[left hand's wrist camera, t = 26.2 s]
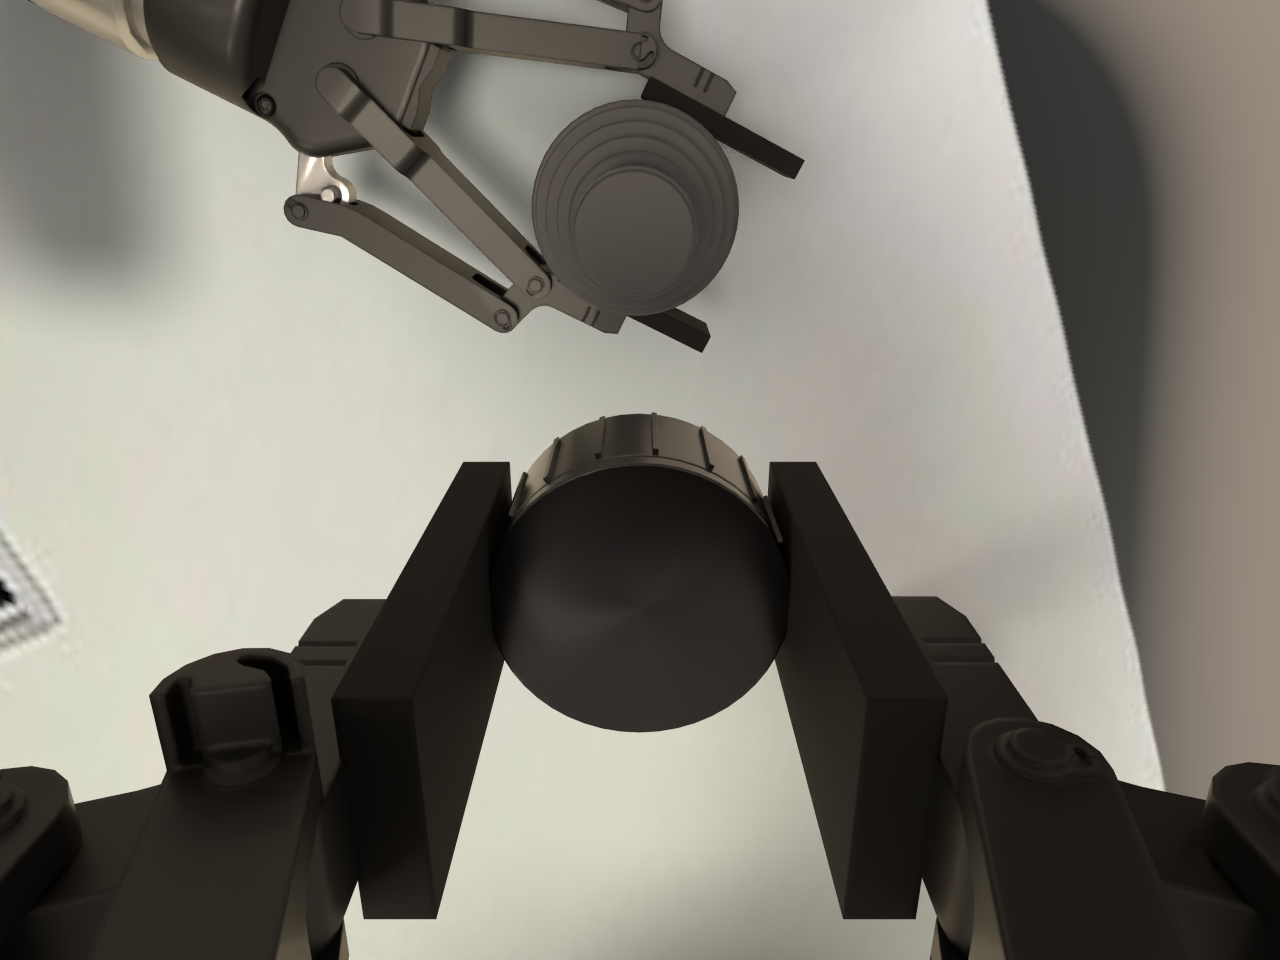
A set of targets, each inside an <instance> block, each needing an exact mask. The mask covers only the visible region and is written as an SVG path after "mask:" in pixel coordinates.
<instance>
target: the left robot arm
mask: <svg viewBox="0 0 1280 960" xmlns="http://www.w3.org/2000/svg"><path fill="white" fill-rule="evenodd" d="M768 500H769V503H770V505H771V508H772V511H773V514H774V516H775V519H776V522H777V525H778V527H779V530H780V533H781V535H782V538H783V541H784V544H785V546H782V547H781V548H782V551H783V554H784V557H785V560H786V563H787V566H788V570H789V576H790V597H789V612H788V625H787V631H786V634H785V638H784V640H783V643H782V645H781V647H780V649H779V651H778V654H777V656H776V657H775V662H776V666H777V669H778V673H779V677H780V681H781V685H782V688H783V692H784V696H785V700H786V704H787V707H788V711H789V715H790V719H791V723H792V726H793V730H794V734H795V738H796V742H797V745H798V749H799V753H800V757H801V761H802V764H803V768H804V772H805V776H806V780H807V783H808V787H809V791H810V795H811V799H812V802H813V806H814V810H815V814H816V818H817V821H818V825H819V829H820V833H821V837H822V840H823V844H824V848H825V852H826V856H827V859H828V863H829V867H830V871H831V875H832V878H833V882H834V886H835V890H836V894H837V897H838V901H839V905H840V909H841V913H842V916H843V919H916V913H917V907H918V900H919V893H920V887H921V880H922V878H923V881H924V884H925V886H926V889H927V891H928V894H929V896H930V899H931V902H932V904H933V907H934V909H935V912H936V915H937V918H936V924H935V930H934V937H933V943H932V949H931V955H930V960H1280V766H1279V765H1271V764H1261V763H1251V762H1247V763H1241V764H1236V765H1230V766H1225V767H1224V768H1223V769H1222V770H1220V771H1219V772H1218V773H1217V774H1216V775H1215V776H1213V778H1212V781H1211V785H1210V788H1209V792H1208V795H1207V799H1206V800H1202V799H1197V798H1192V797H1187V796H1183V795H1178V794H1173V793H1169V792H1164V791H1159V790H1154V789H1149V788H1145V787H1141V786H1137V785H1133V784H1130V783H1126V782H1122V781H1119V780H1118V779H1117V777H1116V775H1115V772H1114V770H1113V769H1112V767H1111V766H1110V765H1109V763H1108V762H1107V760H1106V759H1105V758H1104V756H1103V755H1102V754H1101V752H1100V751H1098V750H1097V749H1096V748H1094V747H1093V746H1092V745H1090V744H1089V743H1088V742H1086V741H1085V740H1083V739H1082V738H1081V737H1079V736H1078V735H1075V734H1073V733H1071V732H1069V731H1066V730H1064V729H1062V728H1059V727H1057V726H1055V725H1053V724H1049V723H1045V722H1040V721H1038V720H1037V718H1036V717H1035V715H1034V714H1033V713H1032V711H1031V710H1030V708H1029V707H1028V705H1027V704H1026V702H1025V701H1024V700H1023V698H1022V697H1021V695H1020V694H1019V692H1018V691H1017V689H1016V688H1015V687H1014V685H1013V684H1012V682H1011V681H1010V679H1009V678H1008V677H1007V675H1006V674H1005V672H1004V671H1003V669H1002V668H1001V666H1000V665H999V664H998V663H995V661H994V656H993V655H992V653H991V652H990V651H989V649H988V648H987V646H986V645H985V643H981V638H980V636H979V635H978V633H977V632H976V630H975V629H974V628H973V626H972V625H971V623H970V622H969V620H968V619H967V618H966V616H965V615H963V614H962V613H960V612H959V611H957V610H956V609H954V608H953V607H951V606H950V605H948V604H947V603H945V602H944V601H942V600H941V599H939V598H938V597H936V596H891V595H890V593H889V591H888V590H887V588H886V586H885V584H884V583H883V581H882V579H881V577H880V575H879V574H878V572H877V570H876V568H875V566H874V565H873V563H872V561H871V559H870V558H869V556H868V554H867V552H866V550H865V549H864V547H863V545H862V543H861V541H860V540H859V538H858V536H857V534H856V533H855V531H854V529H853V527H852V525H851V524H850V522H849V520H848V518H847V516H846V515H845V513H844V511H843V509H842V508H841V506H840V504H839V502H838V500H837V499H836V497H835V495H834V493H833V491H832V490H831V488H830V486H829V484H828V483H827V481H826V479H825V477H824V475H823V474H822V472H821V470H820V468H819V466H818V465H817V463H816V462H770V467H769V484H768ZM511 503H512V494H511V477H510V462H463V464H462V465H461V467H460V469H459V471H458V473H457V474H456V476H455V478H454V480H453V481H452V483H451V485H450V487H449V489H448V490H447V492H446V494H445V496H444V498H443V499H442V501H441V503H440V505H439V506H438V508H437V510H436V512H435V514H434V515H433V517H432V519H431V521H430V523H429V524H428V526H427V528H426V530H425V531H424V533H423V535H422V537H421V539H420V540H419V542H418V544H417V546H416V548H415V549H414V551H413V553H412V555H411V556H410V558H409V560H408V562H407V564H406V565H405V567H404V569H403V571H402V573H401V574H400V576H399V578H398V580H397V581H396V583H395V585H394V587H393V589H392V590H391V592H390V594H389V596H388V598H387V599H343V600H342V601H340V602H339V603H337V604H336V605H334V606H333V607H331V608H330V609H328V610H327V611H325V612H324V613H322V614H321V615H319V616H318V617H316V618H315V619H314V620H313V622H312V623H311V624H310V626H309V627H308V629H307V630H306V632H305V633H304V635H303V636H302V638H301V639H300V640H299V645H298V646H295V648H294V649H293V651H292V652H291V653H287V652H283V651H279V650H275V649H271V648H242V649H237V650H232V651H227V652H222V653H217V654H213V655H210V656H208V657H205V658H202V659H200V660H197V661H195V662H192V663H189V664H187V665H185V666H183V667H182V668H180V669H179V670H177V671H175V672H174V673H172V674H171V675H169V676H167V677H166V678H164V679H163V680H162V681H161V682H160V683H159V685H158V686H157V687H156V688H155V689H154V690H153V692H152V693H151V694H150V695H149V697H150V701H151V706H152V710H153V714H154V718H155V722H156V727H157V731H158V735H159V739H160V744H161V748H162V752H163V756H164V760H165V765H166V769H167V772H166V774H165V776H164V779H163V781H162V783H161V784H160V785H156V786H153V787H149V788H146V789H142V790H138V791H134V792H129V793H124V794H120V795H115V796H110V797H105V798H101V799H96V800H91V801H86V802H82V803H77V804H74V801H73V798H72V794H71V791H70V787H69V784H68V781H67V780H66V779H65V778H64V777H62V776H61V775H60V774H59V773H58V772H56V771H55V770H51V769H45V768H40V767H34V766H28V767H19V768H9V769H1V770H0V960H349V951H348V944H347V937H346V930H345V924H344V915H345V912H346V910H347V907H348V905H349V902H350V899H351V897H352V894H353V892H354V889H355V886H356V884H357V881H358V884H359V891H360V897H361V904H362V911H363V917H364V919H436V918H437V914H438V910H439V907H440V903H441V899H442V895H443V891H444V888H445V884H446V880H447V876H448V872H449V869H450V865H451V861H452V857H453V854H454V850H455V846H456V842H457V838H458V835H459V831H460V827H461V823H462V819H463V816H464V812H465V808H466V804H467V800H468V797H469V793H470V789H471V785H472V781H473V778H474V774H475V770H476V766H477V762H478V759H479V755H480V751H481V747H482V743H483V740H484V736H485V732H486V728H487V724H488V721H489V717H490V713H491V709H492V705H493V702H494V698H495V694H496V690H497V686H498V683H499V679H500V675H501V671H502V667H503V664H504V658H503V656H502V654H501V652H500V650H499V648H498V646H497V644H496V641H495V639H494V636H493V632H492V621H491V606H490V592H489V573H490V569H491V565H492V562H493V559H494V556H495V552H496V550H497V547H498V544H499V541H500V538H501V536H502V533H503V530H504V527H505V524H506V521H507V519H506V517H507V514H508V511H509V509H510V506H511Z"/></svg>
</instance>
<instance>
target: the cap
mask: <svg viewBox="0 0 1280 960" xmlns="http://www.w3.org/2000/svg"><path fill="white" fill-rule="evenodd" d="M506 519H507V521H506V524H505V527H504V530H503V533H502V536H501V538H500V541H499V544H498V547H497V550H496V552H495V556H494V559H493V562H492V565H491V569H490V573H489V592H490V606H491V621H492V632H493V636H494V639H495V641H496V644H497V646H498V648H499V650H500V652H501V654H502V656H503V658H504V660H505V661H506V663H507V664H508V666H509V667H510V669H511V671H512V672H513V673H514V674H515V676H516V677H517V678H518V679H519V680H520V681H521V683H522V684H523V685H524V686H525V687H526V688H527V689H528V690H529V691H531V692H532V693H533V694H534V695H535V696H536V697H537V698H539V699H540V700H541V701H543V702H544V703H546V704H547V705H548V706H550V707H551V708H553V709H555V710H557V711H558V712H560V713H562V714H564V715H566V716H568V717H570V718H573V719H575V720H578V721H580V722H583V723H585V724H589V725H592V726H596V727H599V728H603V729H609V730H616V731H623V732H655V731H663V730H669V729H675V728H679V727H683V726H686V725H690V724H693V723H696V722H699V721H701V720H703V719H706V718H708V717H711V716H713V715H715V714H716V713H718V712H720V711H722V710H724V709H725V708H727V707H729V706H730V705H732V704H733V703H734V702H736V701H737V700H738V699H740V698H741V697H743V696H744V695H745V694H746V693H747V692H748V691H749V690H750V689H751V688H752V687H753V686H754V685H756V683H757V682H758V681H759V680H760V679H761V677H762V676H763V675H764V674H765V673H766V671H767V670H768V668H769V667H770V665H771V664H772V662H773V660H774V659H775V657H776V656H777V654H778V651H779V649H780V647H781V645H782V643H783V640H784V638H785V634H786V631H787V625H788V612H789V597H790V576H789V570H788V566H787V563H786V560H785V557H784V554H783V551H782V548H781V547H782V546H785V544H784V541H783V538H782V535H781V533H780V530H779V527H778V525H777V522H776V519H775V516H774V514H773V511H772V508H771V505H770V503H769V500H768V497H767V496H763V495H762V492H761V490H760V488H759V486H758V484H757V481H756V479H755V477H754V476H753V474H752V473H751V471H750V470H749V468H748V466H747V463H746V460H745V458H744V457H743V456H742V455H741V456H740V457H739V456H738V455H737V454H736V453H735V452H734V451H733V450H732V449H731V448H730V447H729V446H727V445H726V444H725V443H724V442H723V441H722V440H720V439H718V438H717V437H715V436H714V435H712V434H711V433H709V432H708V431H706V428H705V427H703V426H701V427H700V428H699V427H697V426H695V425H693V424H691V423H688V422H685V421H682V420H679V419H675V418H671V417H666V416H660V415H657V413H651V414H628V415H618V416H613V417H608V418H605V416H603V417H600V419H599V420H597V421H594V422H591V423H588V424H585V425H583V426H581V427H579V428H577V429H575V430H573V431H571V432H569V433H568V434H566V435H565V436H563V437H562V438H560V439H559V437H557V438H556V439H554V442H553V444H552V445H551V446H550V447H549V448H548V449H547V450H545V451H544V452H543V453H542V454H541V456H540V457H539V458H538V459H537V460H536V461H535V462H534V464H533V465H532V466H531V468H530V469H529V471H528V472H527V473H525V472H523V474H522V475H521V478H520V481H519V484H518V486H517V489H516V492H515V495H514V497H513V500H512V503H511V506H510V509H509V511H508V514H507V517H506Z"/></svg>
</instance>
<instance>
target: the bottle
mask: <svg viewBox="0 0 1280 960" xmlns="http://www.w3.org/2000/svg"><path fill="white" fill-rule="evenodd" d="M738 216H739V199H738V191H737V185H736V181H735V177H734V174H733V171H732V168H731V166H730V163H729V161H728V158H727V157H726V155H725V153H724V151H723V150H722V148H721V146H720V145H719V144H718V142H717V141H716V140H715V138H714V137H713V136H712V135H711V134H710V133H709V132H708V131H707V130H706V129H705V128H704V127H703V126H702V125H701V124H700V123H699V122H697V121H696V120H695V119H693V118H692V117H691V116H689V115H687V114H686V113H684V112H682V111H680V110H679V109H676V108H674V107H671V106H669V105H666V104H663V103H658V102H654V101H648V100H622V101H617V102H612V103H608V104H605V105H602V106H599V107H596V108H594V109H592V110H590V111H588V112H586V113H584V114H583V115H581V116H580V117H578V118H577V119H576V120H574V121H573V122H571V123H570V124H569V125H568V126H567V127H566V128H565V129H564V130H563V131H562V132H561V133H560V134H559V135H558V136H557V138H556V139H555V140H554V141H553V143H552V144H551V146H550V147H549V149H548V151H547V152H546V154H545V156H544V158H543V160H542V162H541V165H540V167H539V169H538V173H537V176H536V179H535V183H534V189H533V195H532V218H533V227H534V231H535V236H536V240H537V242H538V245H539V248H540V251H541V253H542V255H543V257H544V259H545V261H546V263H547V265H548V266H549V268H550V269H551V271H552V272H553V274H554V275H555V276H556V277H557V278H558V280H559V281H560V282H561V283H562V284H563V285H564V286H565V287H566V288H567V289H568V290H569V291H570V292H572V293H573V294H574V295H575V296H577V297H578V298H580V299H581V300H583V301H584V302H586V303H588V304H590V305H592V306H594V307H596V308H599V309H601V310H604V311H607V312H611V313H616V314H620V315H631V316H639V315H650V314H656V313H661V312H664V311H667V310H670V309H673V308H675V307H677V306H679V305H681V304H683V303H685V302H687V301H688V300H690V299H691V298H693V297H694V296H696V295H697V294H698V293H699V292H701V291H702V290H703V289H704V288H705V287H706V286H707V285H708V284H709V283H710V282H711V281H712V280H713V279H714V278H715V276H716V275H717V273H718V272H719V271H720V269H721V268H722V266H723V264H724V262H725V261H726V259H727V257H728V255H729V253H730V250H731V247H732V245H733V242H734V239H735V235H736V230H737V225H738Z"/></svg>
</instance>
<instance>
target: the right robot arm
mask: <svg viewBox="0 0 1280 960" xmlns="http://www.w3.org/2000/svg"><path fill="white" fill-rule="evenodd" d="M28 1H30V2H32V3H34V4H36V5H38V6H40V7H41V8H43V9H44V10H46V11H48V12H50V13H52V14H54V15H56V16H58V17H60V18H62V19H64V20H66V21H68V22H70V23H72V24H74V25H76V26H78V27H80V28H82V29H84V30H86V31H88V32H90V33H92V34H94V35H96V36H98V37H100V38H102V39H104V40H106V41H108V42H110V43H112V44H113V45H115V46H117V47H119V48H121V49H123V50H125V51H127V52H129V53H131V54H133V55H135V56H138V57H140V58H143V59H146V60H159V61H160V62H161V64H162V65H163V66H164V68H166V69H167V70H168V71H169V72H171V73H173V74H174V75H176V76H178V77H180V78H182V79H184V80H186V81H188V82H190V83H192V84H194V85H196V86H198V87H200V88H202V89H204V90H206V91H208V92H210V93H212V94H214V95H216V96H218V97H220V98H222V99H224V100H226V101H228V102H230V103H232V104H234V105H236V106H238V107H240V108H242V109H244V110H246V111H248V112H250V113H252V114H254V115H256V116H258V117H260V118H262V119H264V120H266V121H268V122H269V123H271V124H272V125H273V126H275V127H276V128H277V129H278V130H279V131H280V132H281V133H282V134H283V135H284V137H285V138H286V139H287V141H288V142H289V143H290V145H291V146H292V147H293V148H294V149H296V150H297V151H298V152H299V157H298V171H297V185H296V195H293V196H291V197H289V198H288V199H287V200H286V201H285V205H284V214H285V216H286V218H287V220H288V221H289V222H291V223H292V224H293V225H295V226H298V227H301V228H306V229H310V230H315V231H319V232H324V233H328V234H333V235H337V236H341V237H343V238H345V239H346V240H348V241H350V242H351V243H353V244H355V245H356V246H358V247H359V248H361V249H363V250H364V251H366V252H368V253H369V254H371V255H373V256H374V257H376V258H377V259H379V260H381V261H382V262H384V263H386V264H387V265H389V266H391V267H392V268H394V269H395V270H397V271H399V272H400V273H402V274H404V275H405V276H407V277H409V278H410V279H412V280H413V281H415V282H417V283H418V284H420V285H422V286H423V287H425V288H427V289H428V290H430V291H431V292H433V293H435V294H436V295H438V296H440V297H441V298H443V299H445V300H446V301H448V302H449V303H451V304H453V305H454V306H456V307H458V308H459V309H461V310H463V311H464V312H466V313H467V314H469V315H471V316H472V317H474V318H476V319H477V320H479V321H481V322H482V323H484V324H485V325H487V326H489V327H490V328H492V329H494V330H495V331H498V332H500V333H507V332H509V331H512V330H513V329H514V328H515V326H516V325H517V324H518V323H519V322H520V321H521V320H522V319H523V318H524V317H525V316H526V315H527V314H528V313H529V312H530V311H531V310H533V309H534V308H536V307H538V306H550V307H553V308H555V309H557V310H559V311H561V312H563V313H565V314H567V315H569V316H571V317H573V318H575V319H577V320H579V321H581V322H584V323H586V324H588V325H590V326H592V327H594V328H596V329H598V330H600V331H602V332H604V333H613V334H618V332H619V330H620V328H621V326H622V324H623V322H624V320H625V318H626V316H628V317H630V318H632V319H635V320H637V321H639V322H641V323H643V324H645V325H647V326H649V327H651V328H653V329H655V330H657V331H659V332H661V333H663V334H665V335H667V336H669V337H671V338H673V339H675V340H677V341H679V342H681V343H683V344H685V345H687V346H689V347H691V348H693V349H695V350H697V351H699V352H701V353H702V352H703V350H704V348H705V346H706V344H707V343H708V341H709V339H710V337H711V336H710V333H709V330H708V327H707V325H706V323H705V322H703V321H701V320H699V319H697V318H695V317H693V316H691V315H689V314H687V313H685V312H683V311H681V310H679V309H677V308H673V309H670V310H667V311H664V312H661V313H656V314H650V315H639V316H631V315H620V314H616V313H611V312H607V311H604V310H601V309H599V308H596V307H594V306H592V305H590V304H588V303H586V302H584V301H583V300H581V299H580V298H578V297H577V296H575V295H574V294H573V293H572V292H570V291H569V290H568V289H567V288H566V287H565V286H564V285H563V284H562V283H561V282H560V281H559V280H558V278H557V277H556V276H555V275H554V274H553V272H552V271H551V269H550V268H549V266H548V265H547V263H546V261H545V259H544V257H543V256H542V255H541V254H540V253H539V252H538V251H537V250H536V249H535V248H534V247H533V246H532V245H531V244H530V243H529V242H528V241H527V240H526V239H525V238H524V237H523V236H522V235H521V234H520V232H519V231H518V230H517V229H516V228H515V227H514V226H513V225H512V224H511V223H510V222H509V221H508V220H507V219H506V218H505V217H504V216H503V215H502V214H501V213H500V212H499V211H498V210H497V209H496V208H495V207H494V206H493V205H492V204H491V203H490V202H489V201H488V200H487V199H486V198H485V197H484V195H483V194H482V193H481V192H480V191H479V190H478V189H477V188H476V187H475V186H474V185H473V184H472V183H471V182H470V181H469V180H468V179H467V178H466V177H465V176H464V175H463V174H462V173H461V172H460V171H459V170H458V169H457V168H456V167H455V166H454V165H453V164H452V163H451V162H450V161H449V159H448V158H447V157H446V156H445V155H444V154H443V153H442V152H441V150H440V148H439V147H438V145H437V144H436V143H435V142H434V141H433V140H432V139H431V138H430V137H429V136H428V135H427V134H426V133H425V132H424V131H423V129H424V126H425V124H426V121H427V118H428V116H429V113H430V106H431V97H432V90H433V88H434V86H435V85H436V84H437V82H438V81H439V80H440V78H441V77H442V75H443V74H444V73H445V70H446V68H447V65H448V62H449V60H450V57H451V54H452V53H451V52H449V51H457V52H465V53H473V54H487V55H494V56H502V57H510V58H518V59H526V60H534V61H541V62H549V63H557V64H565V65H573V66H580V67H588V68H596V69H604V70H612V71H619V72H627V73H635V74H639V75H641V76H643V77H645V78H646V79H648V82H647V84H646V86H645V88H644V90H643V93H642V95H641V99H643V100H648V101H654V102H658V103H663V104H666V105H669V106H671V107H674V108H676V109H679V110H680V111H682V112H684V113H686V114H687V115H689V116H691V117H692V118H693V119H695V120H696V121H697V122H699V123H700V124H701V125H702V126H703V127H704V128H705V129H706V130H707V131H708V132H709V133H710V134H711V135H712V136H713V137H714V138H715V139H716V140H718V141H720V142H722V143H724V144H726V145H727V146H729V147H731V148H733V149H735V150H737V151H738V152H740V153H742V154H744V155H746V156H748V157H750V158H751V159H753V160H755V161H757V162H759V163H761V164H762V165H764V166H766V167H768V168H770V169H772V170H773V171H775V172H777V173H779V174H781V175H783V176H785V177H788V178H792V179H795V178H796V176H797V174H798V172H799V170H800V168H801V166H802V165H803V163H804V161H805V160H803V159H801V158H799V157H797V156H796V155H794V154H792V153H790V152H788V151H787V150H785V149H783V148H781V147H779V146H777V145H776V144H774V143H772V142H770V141H768V140H766V139H765V138H763V137H761V136H759V135H757V134H756V133H754V132H752V131H750V130H748V129H746V128H745V127H743V126H741V125H739V124H737V123H736V122H734V121H732V120H730V119H728V118H726V117H725V115H726V113H727V111H728V109H729V107H730V105H731V103H732V101H733V99H734V96H735V94H736V91H735V90H734V89H733V88H732V86H731V85H730V84H729V82H728V81H727V80H725V79H723V78H721V77H720V76H718V75H716V74H714V73H712V72H711V71H709V70H707V69H705V68H703V67H702V66H700V65H698V64H696V63H694V62H693V61H691V60H689V59H687V58H686V57H684V56H682V55H680V54H678V53H677V52H675V51H673V50H671V49H670V48H669V47H667V46H666V44H665V43H664V42H663V40H662V38H661V34H660V20H661V10H662V1H663V0H598V1H600V2H603V3H605V4H607V5H610V6H612V7H614V8H617V9H619V10H622V11H624V12H626V13H628V17H627V27H626V31H622V30H614V29H606V28H599V27H591V26H583V25H576V24H568V23H560V22H553V21H545V20H537V19H530V18H522V17H514V16H506V15H499V14H491V13H483V12H476V11H470V10H466V9H461V8H456V7H449V6H441V5H435V4H434V2H433V0H28ZM372 149H376V150H377V151H378V152H379V153H380V154H381V155H382V156H383V157H384V158H385V159H386V160H387V161H388V162H389V163H390V164H391V165H392V166H393V167H394V168H395V169H396V170H397V171H398V172H400V173H401V174H403V175H404V176H406V177H407V178H408V179H410V180H411V181H412V182H413V183H414V184H415V185H416V186H417V187H418V188H419V189H420V190H421V191H422V192H423V193H424V194H425V195H426V196H427V197H428V198H429V199H430V200H431V201H432V202H433V203H434V204H435V205H436V206H437V207H438V208H439V209H440V210H441V211H442V212H443V213H444V214H445V215H446V216H447V217H448V218H449V219H450V220H451V221H452V222H453V223H454V225H455V226H456V227H457V228H458V229H459V230H460V231H461V232H462V233H463V234H464V235H465V236H466V237H467V238H468V239H469V240H470V241H471V242H472V243H473V244H474V245H475V246H476V247H477V248H478V249H479V250H480V251H481V252H482V253H483V254H484V255H485V256H486V257H487V258H488V259H489V260H490V261H491V262H492V263H493V264H494V265H495V266H496V267H497V268H498V269H499V270H500V271H501V272H502V273H503V274H504V275H505V276H506V277H507V278H508V279H509V280H510V281H511V282H512V283H513V285H512V286H511V287H510V288H509V289H507V288H506V287H504V286H502V285H501V284H499V283H498V282H496V281H494V280H493V279H491V278H489V277H488V276H486V275H485V274H483V273H481V272H480V271H478V270H477V269H475V268H473V267H472V266H470V265H469V264H467V263H465V262H464V261H462V260H461V259H459V258H457V257H456V256H454V255H453V254H451V253H449V252H448V251H446V250H445V249H443V248H441V247H440V246H438V245H437V244H435V243H433V242H432V241H430V240H429V239H427V238H425V237H424V236H422V235H421V234H419V233H417V232H416V231H414V230H413V229H411V228H409V227H408V226H406V225H405V224H403V223H401V222H400V221H398V220H397V219H395V218H393V217H392V216H390V215H389V214H387V213H385V212H384V211H382V210H380V209H378V208H376V207H375V206H373V205H370V204H368V203H366V202H363V201H360V200H357V199H356V190H355V187H354V186H353V184H352V183H351V182H350V181H349V180H347V179H345V178H343V177H342V176H340V175H339V174H338V173H337V172H336V171H335V169H334V167H333V164H332V157H333V156H339V155H344V154H350V153H355V152H361V151H366V150H372Z"/></svg>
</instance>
